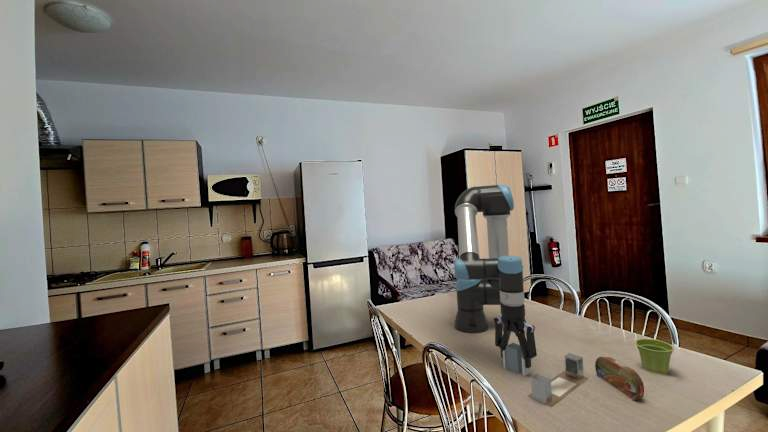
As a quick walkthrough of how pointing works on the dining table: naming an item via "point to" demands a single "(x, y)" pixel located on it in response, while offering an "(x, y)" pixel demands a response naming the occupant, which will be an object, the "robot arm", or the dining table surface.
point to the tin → (620, 377)
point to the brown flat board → (562, 387)
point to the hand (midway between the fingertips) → (516, 372)
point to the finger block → (514, 358)
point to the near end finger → (541, 388)
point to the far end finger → (574, 366)
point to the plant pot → (655, 355)
